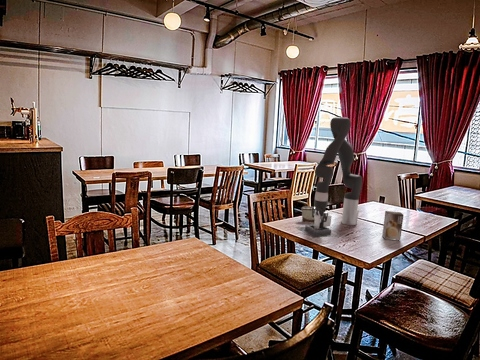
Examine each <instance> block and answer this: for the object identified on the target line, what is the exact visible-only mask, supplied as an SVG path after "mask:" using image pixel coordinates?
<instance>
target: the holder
mask: <svg viewBox="0 0 480 360" xmlns="http://www.w3.org/2000/svg"><path fill="white" fill-rule="evenodd" d="M295 229H297V230H299V231H301V232H302V233H304V234H305V235H307V236H309V237H311V238H312V239H317V238H318V239H319V238H328V237H329V238H331V237H342V235H341V234H339V233H337V232H336V231H335V230H334V231H333V230H332V229H331V228H329V227H323V229H321V230H316V229H314V224H306V225H304V226H296V227H295Z"/></svg>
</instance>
